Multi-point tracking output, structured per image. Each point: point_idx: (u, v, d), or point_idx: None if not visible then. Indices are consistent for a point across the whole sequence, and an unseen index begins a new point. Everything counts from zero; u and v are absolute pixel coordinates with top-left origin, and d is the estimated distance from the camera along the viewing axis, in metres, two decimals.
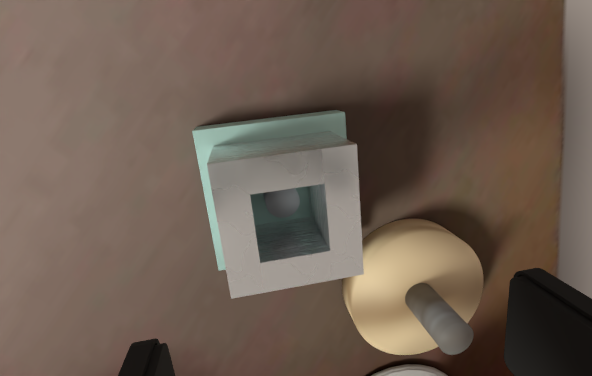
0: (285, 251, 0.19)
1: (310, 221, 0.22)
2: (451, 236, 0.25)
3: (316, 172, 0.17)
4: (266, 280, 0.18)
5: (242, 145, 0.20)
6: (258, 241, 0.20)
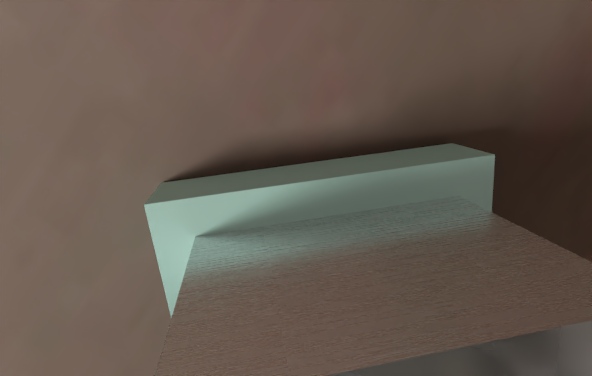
0: None
1: None
2: None
3: None
4: None
5: (266, 245, 0.08)
6: None
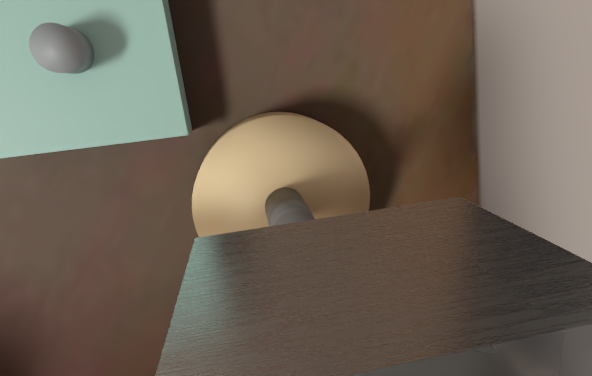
0: None
1: None
2: (319, 123, 0.19)
3: None
4: None
5: (266, 247, 0.08)
6: None
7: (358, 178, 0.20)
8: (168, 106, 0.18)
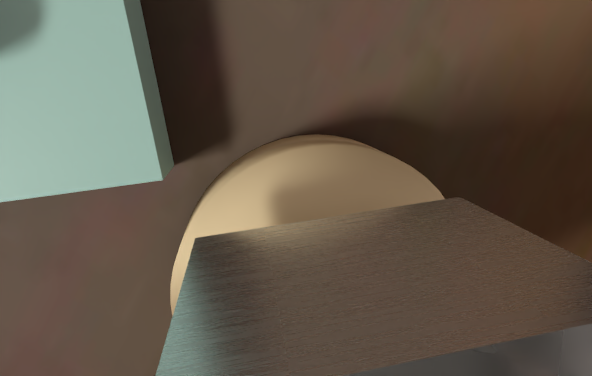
0: None
1: None
2: (390, 158, 0.11)
3: None
4: None
5: (266, 247, 0.08)
6: None
7: None
8: (125, 131, 0.10)
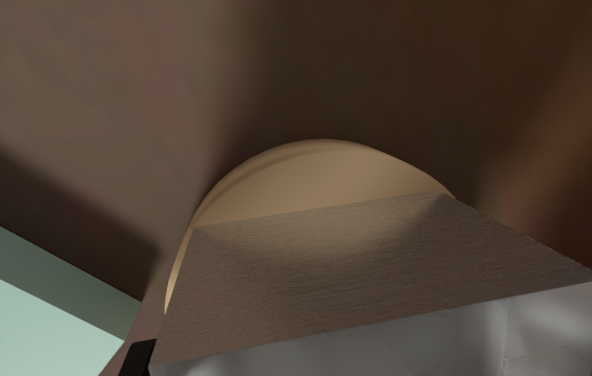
0: None
1: None
2: (271, 170, 0.09)
3: (483, 360, 0.06)
4: None
5: (258, 234, 0.09)
6: None
7: (406, 184, 0.10)
8: (62, 334, 0.10)
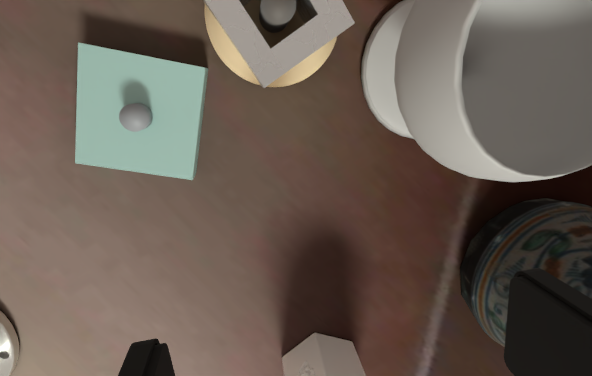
0: None
1: None
2: None
3: None
4: (282, 61, 0.23)
5: None
6: None
7: None
8: (183, 73, 0.27)
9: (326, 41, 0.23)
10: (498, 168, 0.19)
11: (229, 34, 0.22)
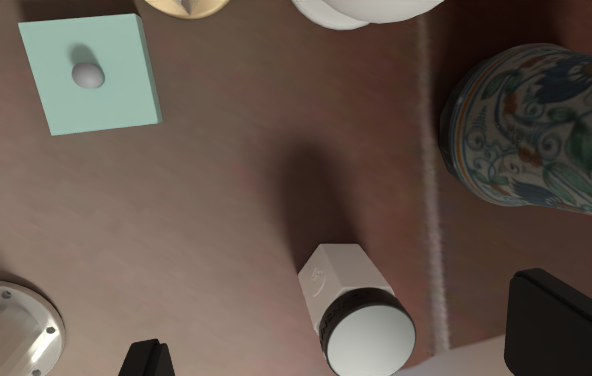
0: None
1: None
2: None
3: None
4: None
5: None
6: None
7: None
8: (117, 24, 0.29)
9: None
10: None
11: None
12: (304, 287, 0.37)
